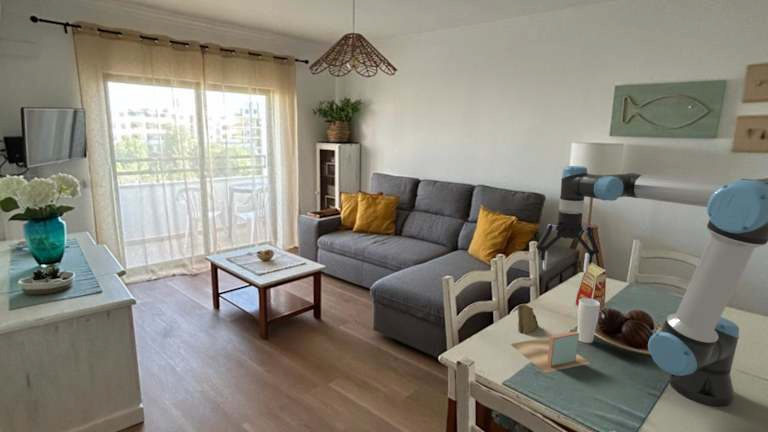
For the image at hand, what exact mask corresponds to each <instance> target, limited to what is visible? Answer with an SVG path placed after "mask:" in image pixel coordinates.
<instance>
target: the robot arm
mask: <svg viewBox="0 0 768 432" xmlns="http://www.w3.org/2000/svg"><path fill="white" fill-rule="evenodd" d="M560 179H561V182H560V183H561V184H560V185H561V187H560V198H559V206H558V210H559V211H558V216H557V224H556V225H555V224H551V223H548V224H547V226H546V229H545V231H544V233H543V234H542V236H541V238H540V239H539V240H538V242H537V244H536V245H535V248H536V249H537V250H538V251H540V260H541V261H543V263H542V269H543V271H547V263H548V254H549V253H548V250H549V249H550V248H551V247H552V246H553V245H554V244H555V243H556V242H558V241H559V240H561V238H563V239H575V238H576V239H577V240H578V241H579V243H580V244H581V246H583V248H584V249H585V250H586V252H585V254H584V261H583V273H584V272H585V273H588V267H589V266H590V265H591V263H593V256H594V255H595V254H599V253H600V250H599V247H598V246H597V243H596V241H595V238H594V236H593V234H592V227H591V226H590V225H586V226H582V223H583V212H584V201H585V197H586V198H592V199H596V200H601V201H610V202H611V201H612V202H614V201H617V200H618V199H619V198H626V197H627V198H632V199H633V198H634V199H643V200H650V201H656V202H658V201H659V202H667V203H673V204H680V205H687V206H696V207H700V208H701V207H702V208H706V212H707V215H708V217H709V220H708V222H707V225H706V229H707V230H708V232H709V234H710V237H709V240H708V241H707V244H706V246H705V248H704V250H703V252H702V255H701V256H700V257H701V258H700V260H699V262H698V264H697V266H696V269H695V271H694V273H693V275H692V278H691V280H690V282H689V284H688V287H687V288H686V291H685V293H684V296H683V297H682V300H681V302H680V304H679V306H678V308H677V311H676V312H675V313H671V314H669V315H667V317H666V319H665V320H664V323H663V326H662V328H661V329H660V331H657V332H654V334H652V335H651V336H650V337H649V340H648V342H647V343H648V344H647V348H648V353H649V354H650V356H651V357H652V359H651V360H653V362H655V364H656V365H657V366H658V367H659V368H660V369H661V370H663V371H664V372H665V373H668V374H669V377H668V378H669V379H668V382H669V385H670V386H671V387H672V388H673V390H675V391H676V392H677V393H679V394H681V395H682V396H684V397H686V398H687V399H689V400H690V399H691V400H692V401H693V402H694V401H695V402H697V403H700V404H704V405H708V406H714V407H726V406H730V405H731V404H732V403H733V401H734V396H735V391H734V387H733V382H732V376H731V371H732V366H733V362H734V359H735V354H736V350H737V345H738V342H739V341H738V340H739V339H740V336H739V335H740V328H739V326H738V325H737V324H736V323H735V322H734V321H731V320H730V319H728V318H725V317H723V316H722V315H723V313H724V311H725V309H726V307H727V304H728V303H729V300H730V299H731V297H732V295H733V293H734V291H735V288H736V287H737V285H738V282H739V281H740V279H741V277H742V275H743V272H744V271H745V269H746V266H747V265H748V262H749V261H750V259H751V257H752V254H753V252H754V251H755V249H756V248H760V247H762V246H766V245H767V243H768V178H759V179H758V178H757V179H752V178H750V179H749V178H740V179H738V180H736V181H725V180H724V181H723V180H712V179H702V178H688V177H687V178H686V177H685V178H684V177H673V176H663V175H661V176H660V175H650V174H649V175H648V174H640V173H634V172H627V173H620V174H619V173H617V174H615V173H614V174H592V173H588V168H587V167H586V166H578V165H569V166H568V165H567V166H564V167H563V169H562V173H561V178H560ZM555 229H556V231H557V232H556V233H555V234H554V235H553V236H552V237H551V238H550V239H549V240H548V241H547V239H548V238H549V237H550V235H551V233H552V232H554V231H555ZM582 231H583V232H584V233H585V234H586V236H587V238H588V241H589V243H590V245H591V247H592V249H591V248H590V247H589V246H588V244H587V243H586V241H584V239H583V238H582V236H580V233H582ZM546 241H547V242H546Z"/></svg>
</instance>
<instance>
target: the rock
mask: <svg viewBox="0 0 768 432" xmlns="http://www.w3.org/2000/svg"><path fill="white" fill-rule="evenodd" d="M517 315H518V323H517V324H518V325H517V330H518V332H519V333H520V335H526V334H529V333H533V332H534V330H535V329H536V328H537V327H538V326H539V324H538V321H537V316H536V314H535V313H534V308H532V307H531V306H528V305H527V304H524V305H523V304H520V305H518V308H517Z"/></svg>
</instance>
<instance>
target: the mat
mask: <svg viewBox="0 0 768 432" xmlns="http://www.w3.org/2000/svg"><path fill="white" fill-rule="evenodd" d="M549 343H550V336H548V337H542V338H538V339H537V338H536V339H530V340H525V341H519V342H513V343H510V346H512V347H513V348H514V349H515V350H516V351H518V352H519V354H521V355H522V356H523V357H525V358H526V359H527V360H528V361H529V362H530V363H532V364H533V365H535V366H536V367H537V368H538V369H540V371H542V372H543V373H544V374H545V373H546V374H547V373H551V372H552V373H553V372H555V371H560V370H564V369H565V370H566V369H569V368H575V367H579V366H584V365H589V364H591V362H590V361H589V360H587V359H585V358H584V357H582V356H581V355H579V354H578V353H577V355H576V362H571V363H566V364H561V365H556V366H551V367H550V366H549V365H548V364H547V361H548V352H549Z"/></svg>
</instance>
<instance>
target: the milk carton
mask: <svg viewBox="0 0 768 432" xmlns="http://www.w3.org/2000/svg"><path fill="white" fill-rule="evenodd" d="M606 272H607V270H606V269H605V268H602V267H600V266H598V265H596V263H594V262H592V263H591V264H589V266H588V273H585V272H584V271H583V275H582V277H581V280H580V284H579V287H578V289H577V292H576V296H575V299H574V303H573V307H574V308H577V309H578V305H579V300H580V299H582V298H589V299H593V300H596V301H598V302H599V303H600V311H599V313H601V312H603V311H604V310H605V308H606V307H605V306H606V292H607V290H606V289H607V274H606ZM602 310H603V311H602Z"/></svg>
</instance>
